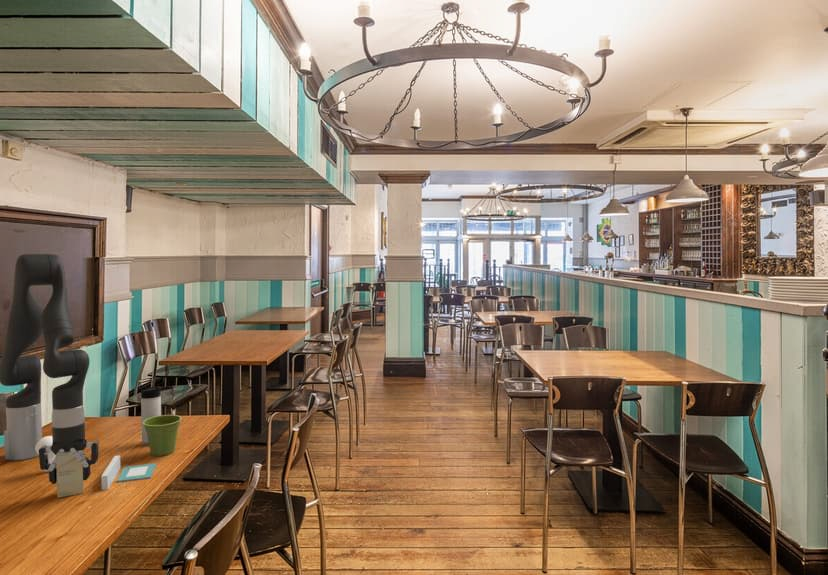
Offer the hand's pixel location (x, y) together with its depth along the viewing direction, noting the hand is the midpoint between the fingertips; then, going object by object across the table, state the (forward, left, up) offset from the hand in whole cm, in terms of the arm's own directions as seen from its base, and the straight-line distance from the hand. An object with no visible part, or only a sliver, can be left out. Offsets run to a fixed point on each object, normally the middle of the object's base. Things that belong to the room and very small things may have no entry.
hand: (70, 481), depth 141 cm
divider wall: (+9, +7, -3) cm, 11 cm away
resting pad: (+15, +9, -3) cm, 18 cm away
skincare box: (0, 0, -3) cm, 3 cm away
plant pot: (+20, +25, -4) cm, 32 cm away
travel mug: (+15, +37, -3) cm, 40 cm away
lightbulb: (-11, +19, -4) cm, 22 cm away
